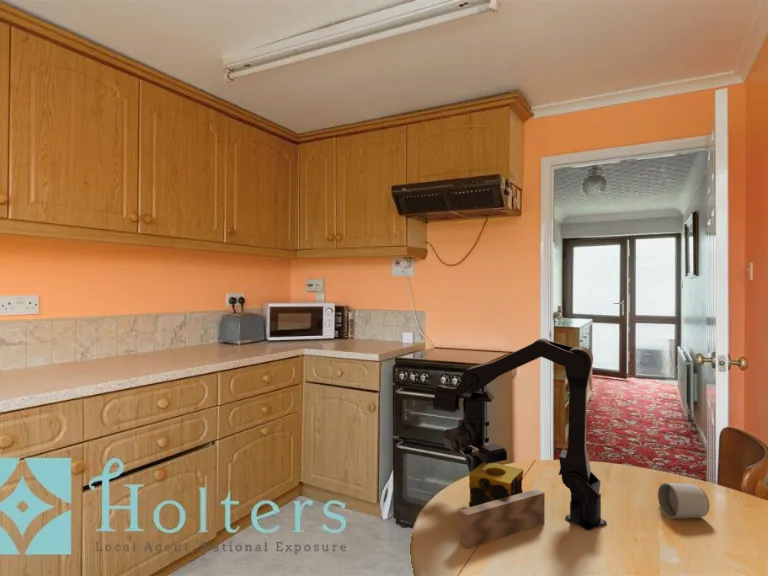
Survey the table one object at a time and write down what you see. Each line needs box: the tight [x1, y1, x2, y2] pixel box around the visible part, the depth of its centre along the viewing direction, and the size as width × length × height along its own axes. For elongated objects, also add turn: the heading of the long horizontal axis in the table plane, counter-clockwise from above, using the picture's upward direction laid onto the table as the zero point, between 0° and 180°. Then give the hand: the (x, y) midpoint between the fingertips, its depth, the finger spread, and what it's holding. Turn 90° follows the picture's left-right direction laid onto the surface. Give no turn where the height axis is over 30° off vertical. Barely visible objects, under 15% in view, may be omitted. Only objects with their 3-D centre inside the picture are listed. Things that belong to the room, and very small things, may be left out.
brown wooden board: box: [459, 488, 546, 550], centre depth 104 cm, size 22×2×7 cm, turn 118°
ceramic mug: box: [657, 482, 710, 520], centre depth 113 cm, size 11×8×8 cm
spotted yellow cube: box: [468, 461, 524, 508], centre depth 113 cm, size 10×10×10 cm
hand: (473, 477), depth 121 cm, fingers closed
